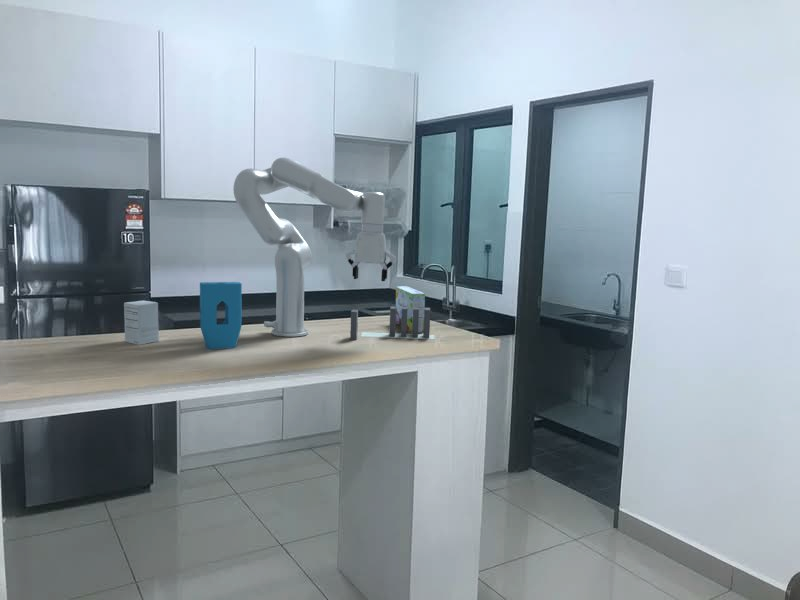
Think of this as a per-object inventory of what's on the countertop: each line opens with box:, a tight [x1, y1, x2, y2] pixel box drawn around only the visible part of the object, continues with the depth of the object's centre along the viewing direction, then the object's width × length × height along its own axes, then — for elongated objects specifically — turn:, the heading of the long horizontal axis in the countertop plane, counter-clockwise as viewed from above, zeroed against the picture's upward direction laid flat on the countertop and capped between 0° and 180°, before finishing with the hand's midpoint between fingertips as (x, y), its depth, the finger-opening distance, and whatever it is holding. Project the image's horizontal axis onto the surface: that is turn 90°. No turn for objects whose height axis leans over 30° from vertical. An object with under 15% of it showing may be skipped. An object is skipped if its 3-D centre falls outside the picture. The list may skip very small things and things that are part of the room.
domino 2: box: [388, 306, 397, 337], centre depth 222 cm, size 2×5×10 cm, turn 0°
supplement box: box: [123, 300, 160, 346], centre depth 199 cm, size 7×7×13 cm
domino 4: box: [411, 307, 419, 339], centre depth 222 cm, size 2×5×10 cm, turn 0°
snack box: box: [395, 285, 426, 333], centre depth 240 cm, size 21×6×15 cm, turn 17°
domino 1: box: [349, 309, 359, 341], centre depth 215 cm, size 2×5×10 cm, turn 0°
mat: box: [360, 331, 436, 340], centre depth 223 cm, size 26×8×1 cm, turn 90°
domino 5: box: [422, 307, 431, 338], centre depth 222 cm, size 2×5×10 cm, turn 0°
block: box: [199, 281, 243, 350], centre depth 195 cm, size 12×5×20 cm, turn 116°
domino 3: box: [400, 307, 408, 337], centre depth 222 cm, size 2×5×10 cm, turn 0°
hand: (369, 279), depth 214 cm, fingers open, 9 cm apart
